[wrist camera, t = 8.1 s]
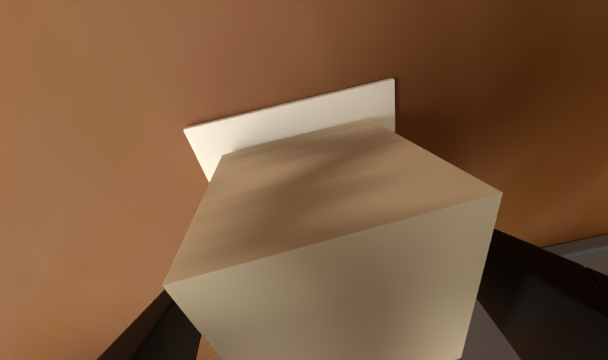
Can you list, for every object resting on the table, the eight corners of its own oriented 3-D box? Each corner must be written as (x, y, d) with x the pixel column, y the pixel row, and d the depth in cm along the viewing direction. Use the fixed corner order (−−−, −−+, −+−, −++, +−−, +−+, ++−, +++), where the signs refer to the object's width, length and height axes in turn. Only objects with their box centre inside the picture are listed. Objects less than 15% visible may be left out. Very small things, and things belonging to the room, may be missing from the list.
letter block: (367, 117, 10) (503, 192, 4) (376, 231, 13) (460, 360, 7) (222, 154, 10) (162, 285, 4) (267, 261, 13) (268, 417, 7)
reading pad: (390, 78, 10) (394, 78, 9) (393, 233, 14) (396, 237, 14) (186, 126, 10) (183, 129, 10) (252, 264, 14) (251, 269, 14)
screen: (607, 234, 16) (768, 323, 11) (595, 253, 17) (736, 344, 12) (394, 279, 16) (447, 386, 11) (394, 295, 17) (443, 401, 12)
